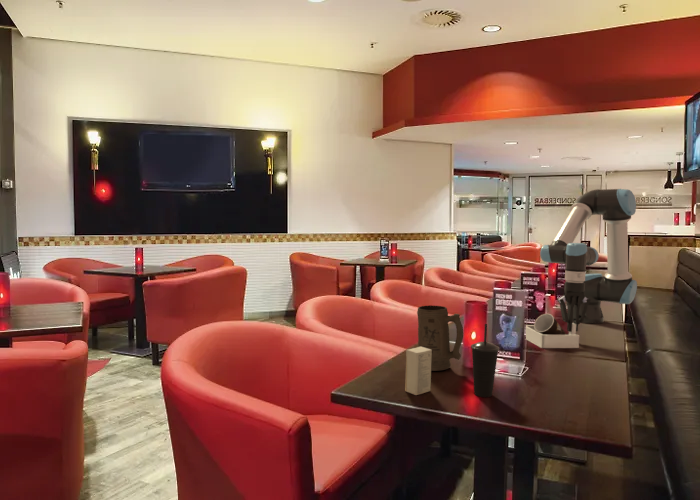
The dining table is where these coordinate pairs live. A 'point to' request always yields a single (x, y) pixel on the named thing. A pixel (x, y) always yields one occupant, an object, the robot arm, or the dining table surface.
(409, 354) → the skincare box
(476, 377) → the drinking cup
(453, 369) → the dining table surface
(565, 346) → the cream u-shaped bracket
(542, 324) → the dark brown mug
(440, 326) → the beer stein
